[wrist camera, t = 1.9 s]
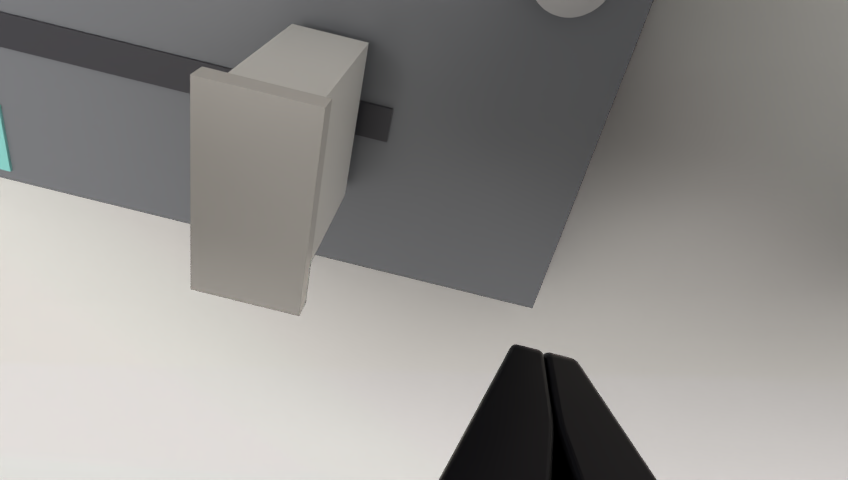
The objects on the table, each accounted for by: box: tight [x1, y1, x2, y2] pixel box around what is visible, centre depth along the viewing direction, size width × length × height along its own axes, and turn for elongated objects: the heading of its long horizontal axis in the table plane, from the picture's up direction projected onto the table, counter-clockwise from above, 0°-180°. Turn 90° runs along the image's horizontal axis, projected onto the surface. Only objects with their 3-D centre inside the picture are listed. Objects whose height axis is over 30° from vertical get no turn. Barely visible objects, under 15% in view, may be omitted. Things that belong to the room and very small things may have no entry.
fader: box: [190, 24, 369, 316], centre depth 12 cm, size 2×4×4 cm, turn 168°
